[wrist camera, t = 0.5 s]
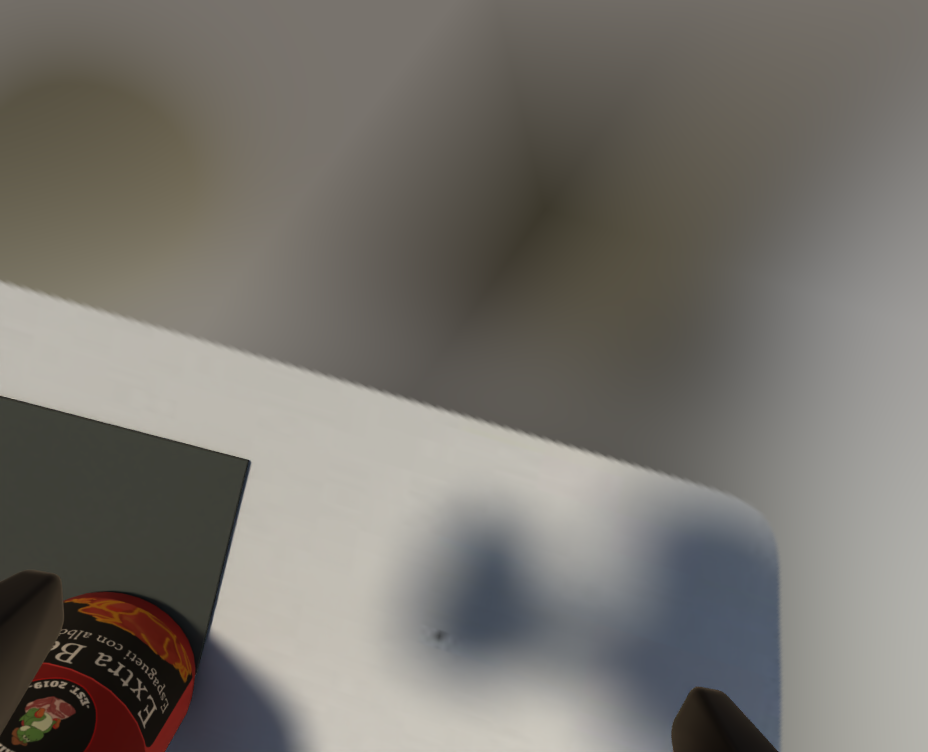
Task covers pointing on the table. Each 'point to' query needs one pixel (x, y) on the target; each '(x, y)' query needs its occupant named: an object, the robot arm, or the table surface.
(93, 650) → the canned food
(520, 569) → the table surface
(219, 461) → the mat
